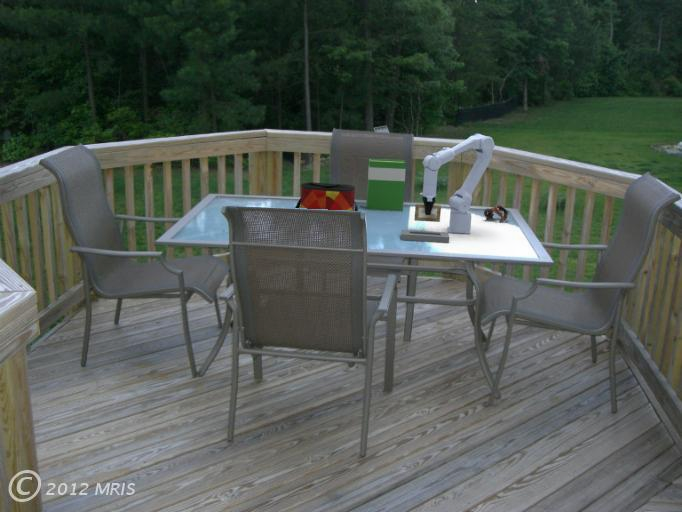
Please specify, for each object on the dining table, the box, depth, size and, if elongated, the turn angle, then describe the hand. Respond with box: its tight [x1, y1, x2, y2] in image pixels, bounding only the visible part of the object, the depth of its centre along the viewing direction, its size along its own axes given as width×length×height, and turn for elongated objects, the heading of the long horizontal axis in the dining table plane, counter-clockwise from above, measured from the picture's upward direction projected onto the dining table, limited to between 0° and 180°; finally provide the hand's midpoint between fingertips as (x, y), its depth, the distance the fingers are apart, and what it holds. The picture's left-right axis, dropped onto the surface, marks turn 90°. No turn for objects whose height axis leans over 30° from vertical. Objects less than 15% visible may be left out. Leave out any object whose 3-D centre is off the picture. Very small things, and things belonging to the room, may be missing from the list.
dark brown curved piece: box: [483, 204, 509, 223], centre depth 355 cm, size 12×10×8 cm
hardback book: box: [365, 158, 407, 212], centre depth 366 cm, size 18×7×24 cm, turn 90°
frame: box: [414, 203, 442, 223], centre depth 325 cm, size 11×2×7 cm, turn 86°
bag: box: [294, 181, 359, 212], centre depth 344 cm, size 30×14×16 cm, turn 84°
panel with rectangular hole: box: [400, 229, 450, 244], centre depth 317 cm, size 20×8×2 cm, turn 86°
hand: (427, 214), depth 326 cm, fingers closed on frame, 2 cm apart
